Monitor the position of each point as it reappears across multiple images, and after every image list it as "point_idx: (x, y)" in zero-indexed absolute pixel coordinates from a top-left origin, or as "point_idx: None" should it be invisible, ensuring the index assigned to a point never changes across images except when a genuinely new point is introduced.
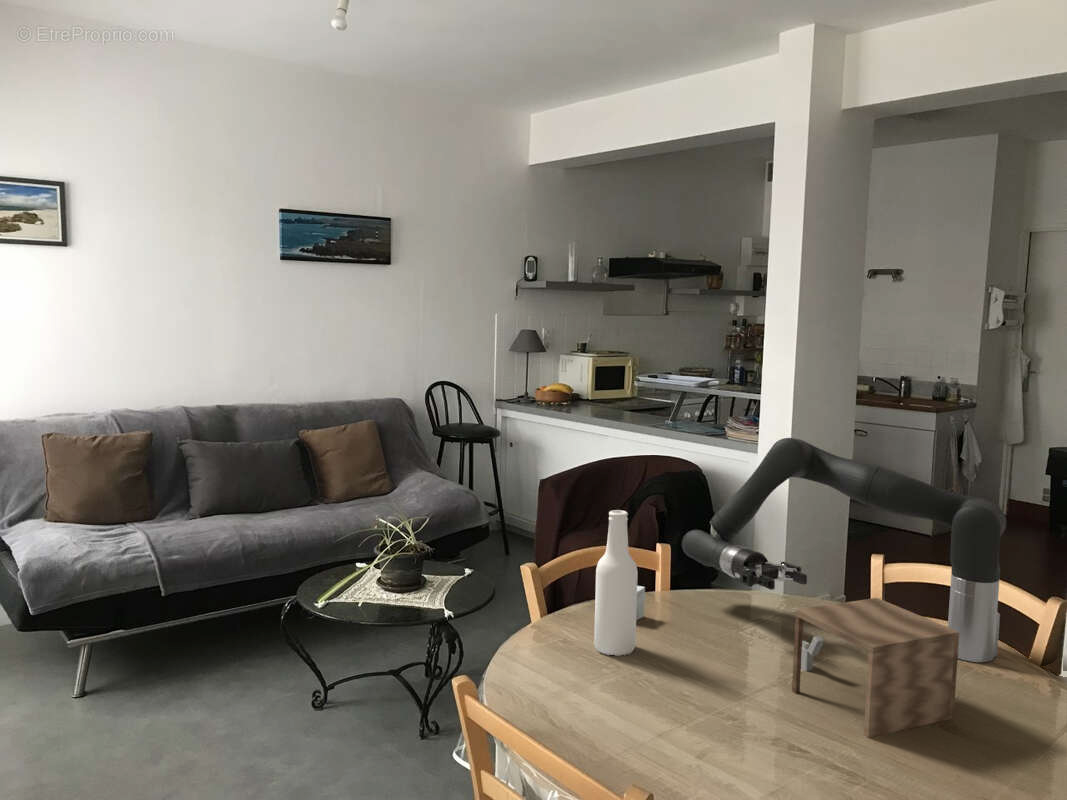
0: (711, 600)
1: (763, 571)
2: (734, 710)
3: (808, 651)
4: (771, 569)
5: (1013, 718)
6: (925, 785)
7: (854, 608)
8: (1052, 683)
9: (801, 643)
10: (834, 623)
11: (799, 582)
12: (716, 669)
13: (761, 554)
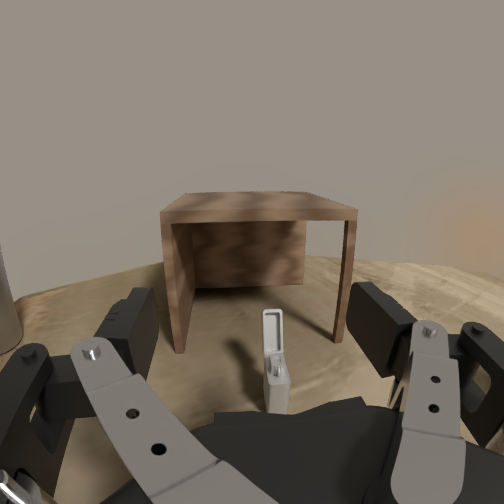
0: None
1: (379, 407)
2: (423, 317)
3: (282, 351)
4: (275, 427)
5: (140, 279)
6: None
7: (248, 204)
8: (35, 294)
9: (342, 264)
10: (317, 199)
11: (151, 351)
12: None
13: None
